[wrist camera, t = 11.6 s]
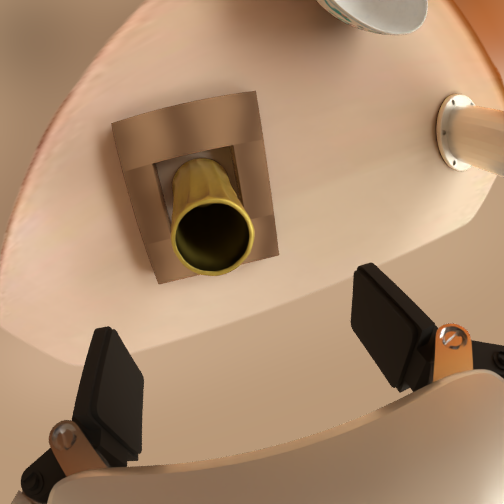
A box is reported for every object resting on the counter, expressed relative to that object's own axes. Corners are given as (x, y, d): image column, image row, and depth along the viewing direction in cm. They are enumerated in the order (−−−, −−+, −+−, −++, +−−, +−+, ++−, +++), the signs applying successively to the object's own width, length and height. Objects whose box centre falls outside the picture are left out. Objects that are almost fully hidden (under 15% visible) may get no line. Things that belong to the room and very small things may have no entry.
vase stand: (250, 93, 27) (255, 90, 24) (272, 245, 35) (279, 255, 33) (117, 123, 25) (111, 123, 23) (159, 273, 33) (158, 284, 31)
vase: (201, 223, 32) (215, 297, 20) (160, 188, 29) (143, 244, 17) (240, 184, 31) (281, 235, 19) (200, 146, 28) (212, 168, 16)
